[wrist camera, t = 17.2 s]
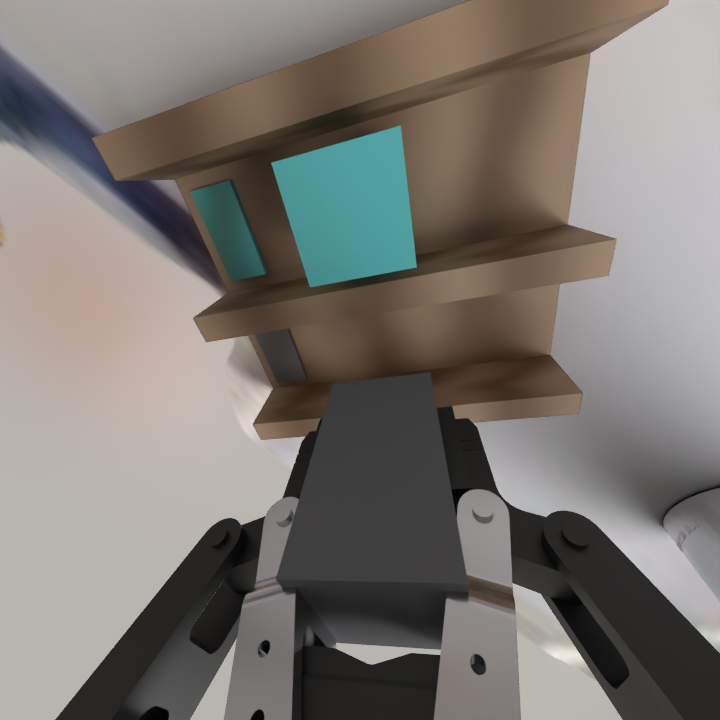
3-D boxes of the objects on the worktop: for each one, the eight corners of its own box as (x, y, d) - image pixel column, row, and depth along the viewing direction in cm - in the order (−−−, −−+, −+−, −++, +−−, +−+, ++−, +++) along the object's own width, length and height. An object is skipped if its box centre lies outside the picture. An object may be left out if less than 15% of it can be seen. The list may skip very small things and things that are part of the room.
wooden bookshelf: (583, 11, 12) (686, -79, 8) (541, 365, 21) (578, 413, 17) (171, 147, 16) (92, 138, 12) (283, 394, 25) (261, 439, 21)
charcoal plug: (430, 372, 11) (467, 583, 6) (438, 442, 13) (472, 651, 8) (332, 383, 12) (275, 579, 6) (354, 448, 14) (326, 641, 8)
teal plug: (398, 145, 14) (400, 125, 8) (409, 233, 16) (417, 267, 10) (320, 167, 15) (270, 162, 9) (340, 248, 17) (310, 287, 11)
